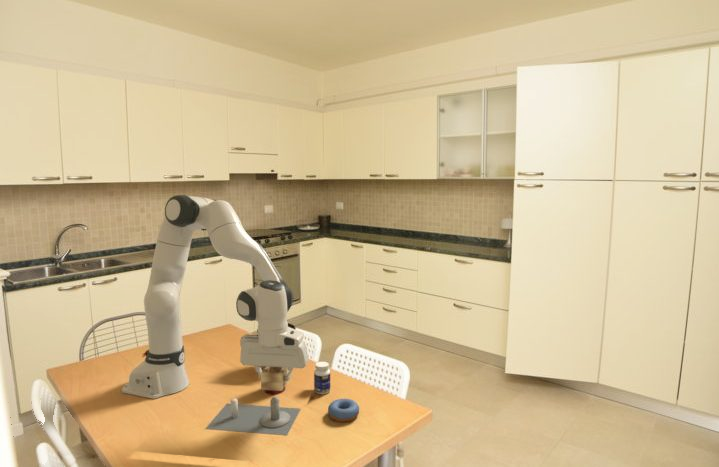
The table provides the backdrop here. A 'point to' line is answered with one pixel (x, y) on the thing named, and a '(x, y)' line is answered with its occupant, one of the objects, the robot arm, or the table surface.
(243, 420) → the jig board
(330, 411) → the doughnut
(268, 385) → the tan box
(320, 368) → the pill bottle
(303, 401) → the table surface
